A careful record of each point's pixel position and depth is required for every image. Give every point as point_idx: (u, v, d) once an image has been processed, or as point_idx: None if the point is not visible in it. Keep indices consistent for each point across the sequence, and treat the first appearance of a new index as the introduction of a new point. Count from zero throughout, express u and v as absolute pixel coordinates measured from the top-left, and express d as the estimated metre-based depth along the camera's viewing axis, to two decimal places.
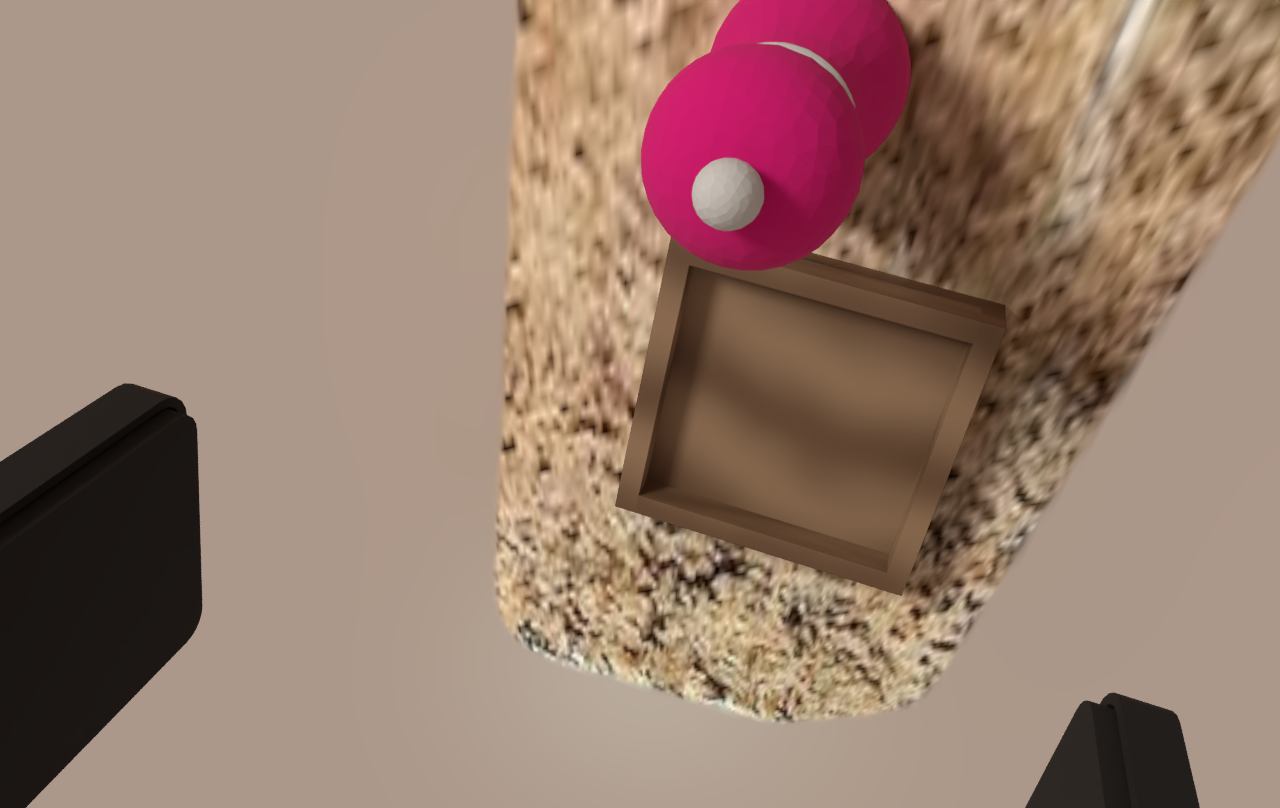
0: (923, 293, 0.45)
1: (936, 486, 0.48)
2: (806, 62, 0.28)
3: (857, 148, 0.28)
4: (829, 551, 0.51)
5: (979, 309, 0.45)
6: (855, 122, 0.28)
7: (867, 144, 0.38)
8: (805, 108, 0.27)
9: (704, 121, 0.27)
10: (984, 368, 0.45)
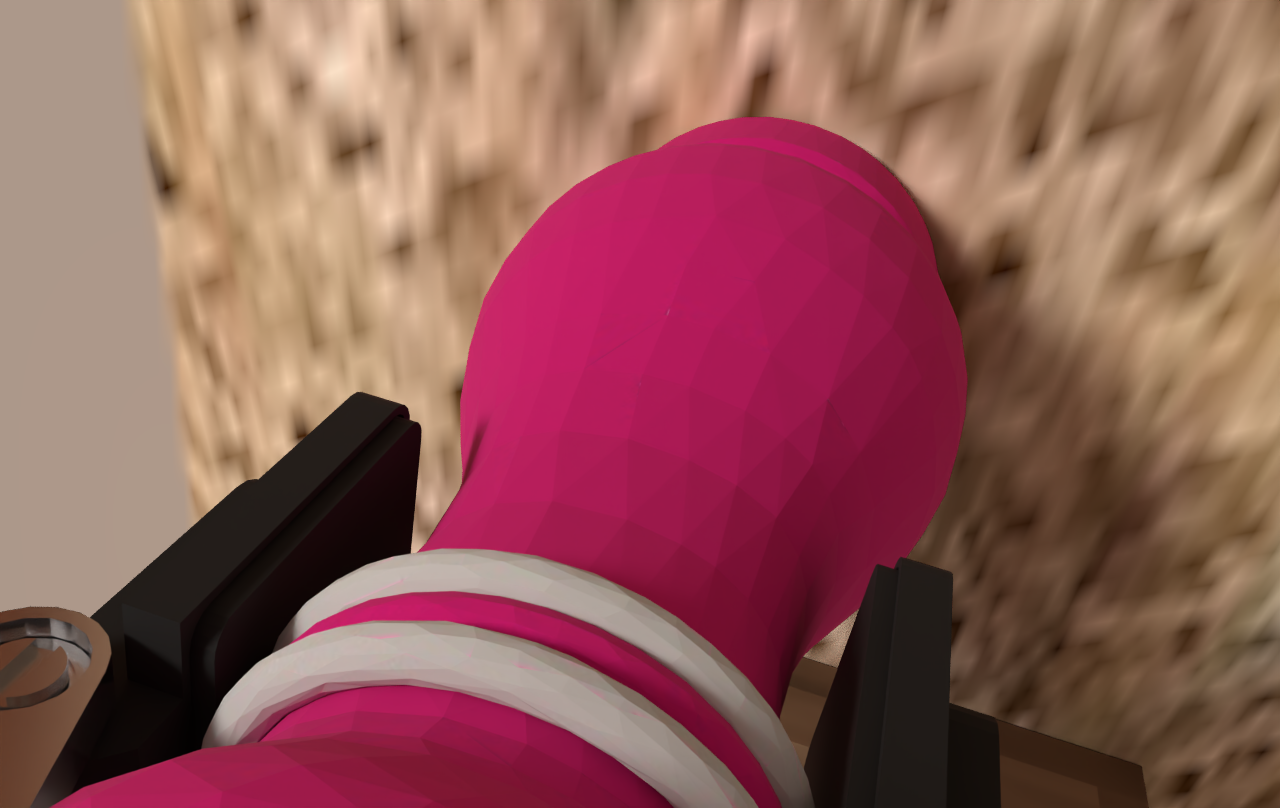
0: None
1: None
2: None
3: None
4: None
5: (1094, 793, 0.22)
6: None
7: (859, 606, 0.14)
8: None
9: None
10: None
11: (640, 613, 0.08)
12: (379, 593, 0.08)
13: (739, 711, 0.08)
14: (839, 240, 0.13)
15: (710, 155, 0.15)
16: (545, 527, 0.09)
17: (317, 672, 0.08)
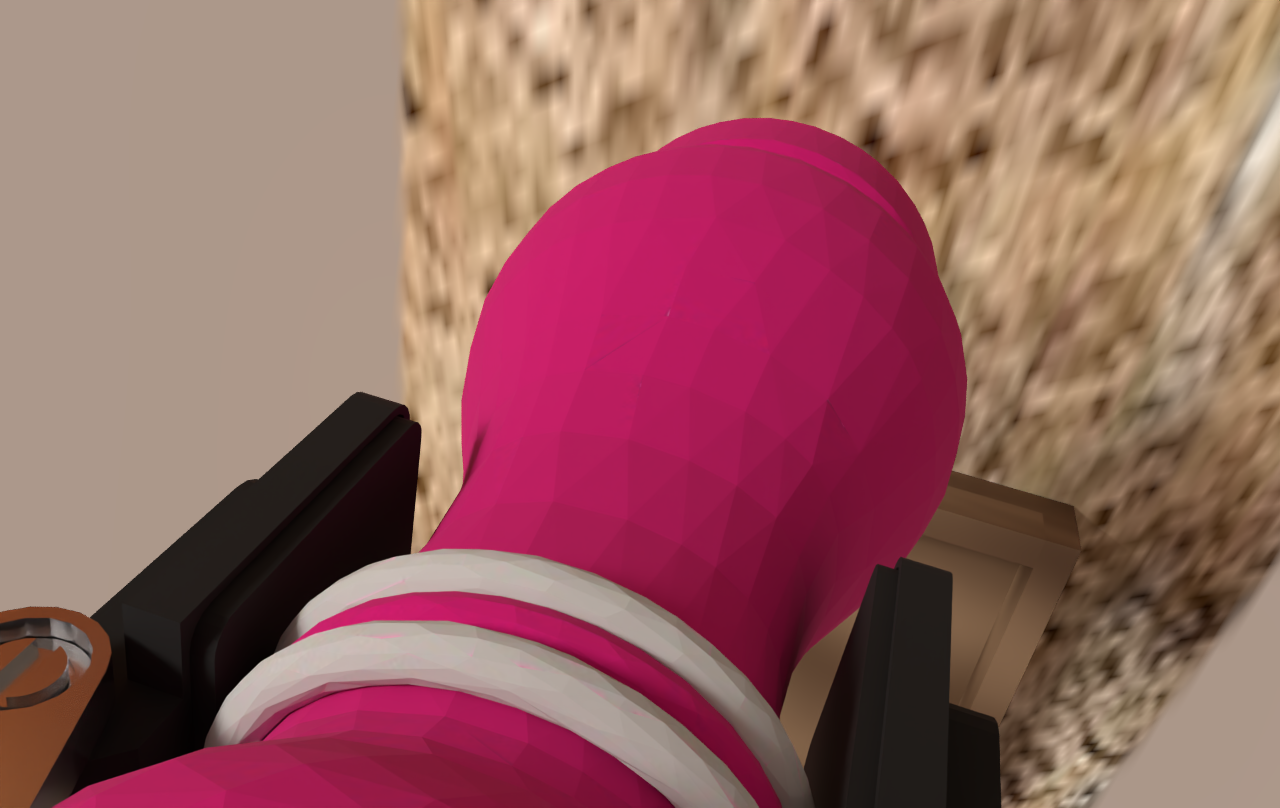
0: (963, 492, 0.33)
1: None
2: None
3: None
4: None
5: (1040, 516, 0.32)
6: None
7: (858, 606, 0.14)
8: None
9: None
10: (1049, 600, 0.32)
11: (641, 613, 0.08)
12: (381, 593, 0.08)
13: (739, 710, 0.08)
14: (840, 242, 0.13)
15: (710, 156, 0.15)
16: (546, 528, 0.10)
17: (320, 671, 0.08)
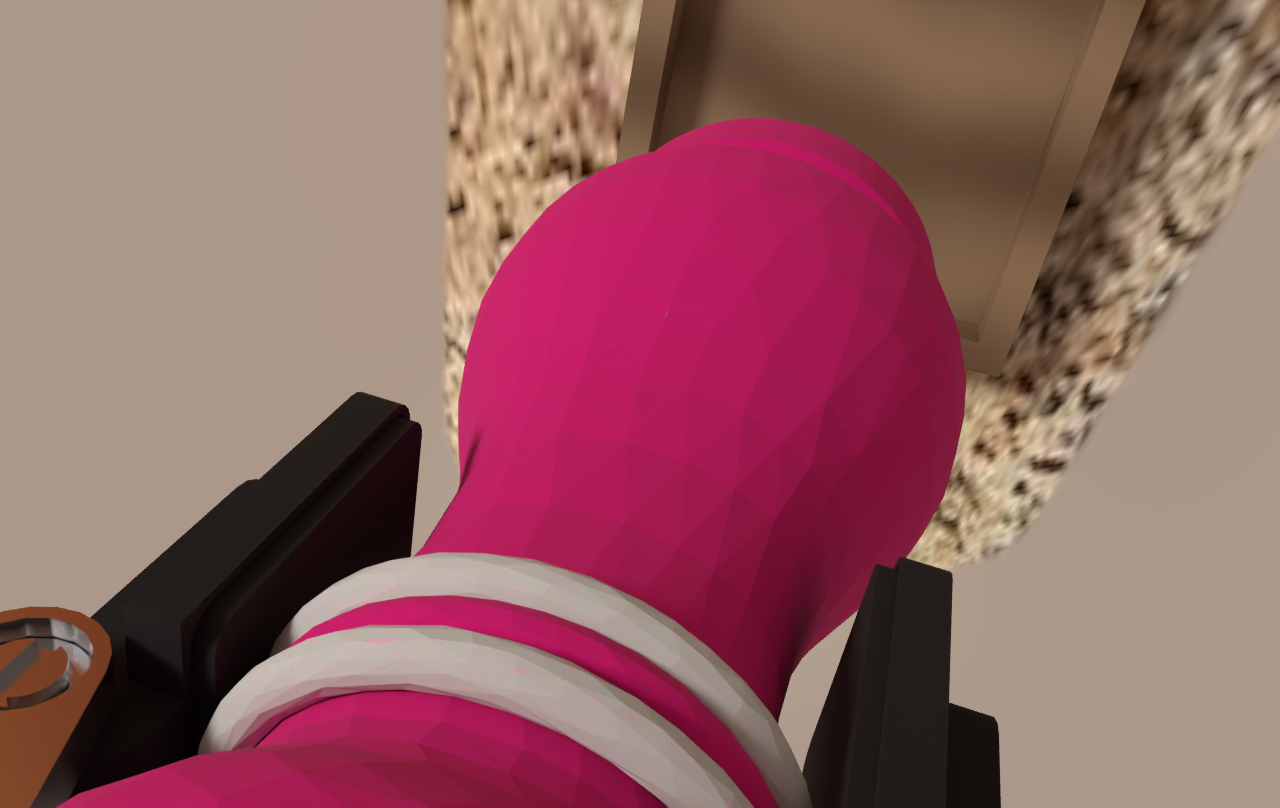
0: None
1: (1055, 200, 0.33)
2: None
3: None
4: None
5: None
6: None
7: (858, 609, 0.14)
8: None
9: None
10: None
11: (638, 617, 0.08)
12: (376, 597, 0.08)
13: (737, 715, 0.08)
14: (837, 243, 0.13)
15: (708, 156, 0.14)
16: (543, 531, 0.09)
17: (314, 677, 0.08)
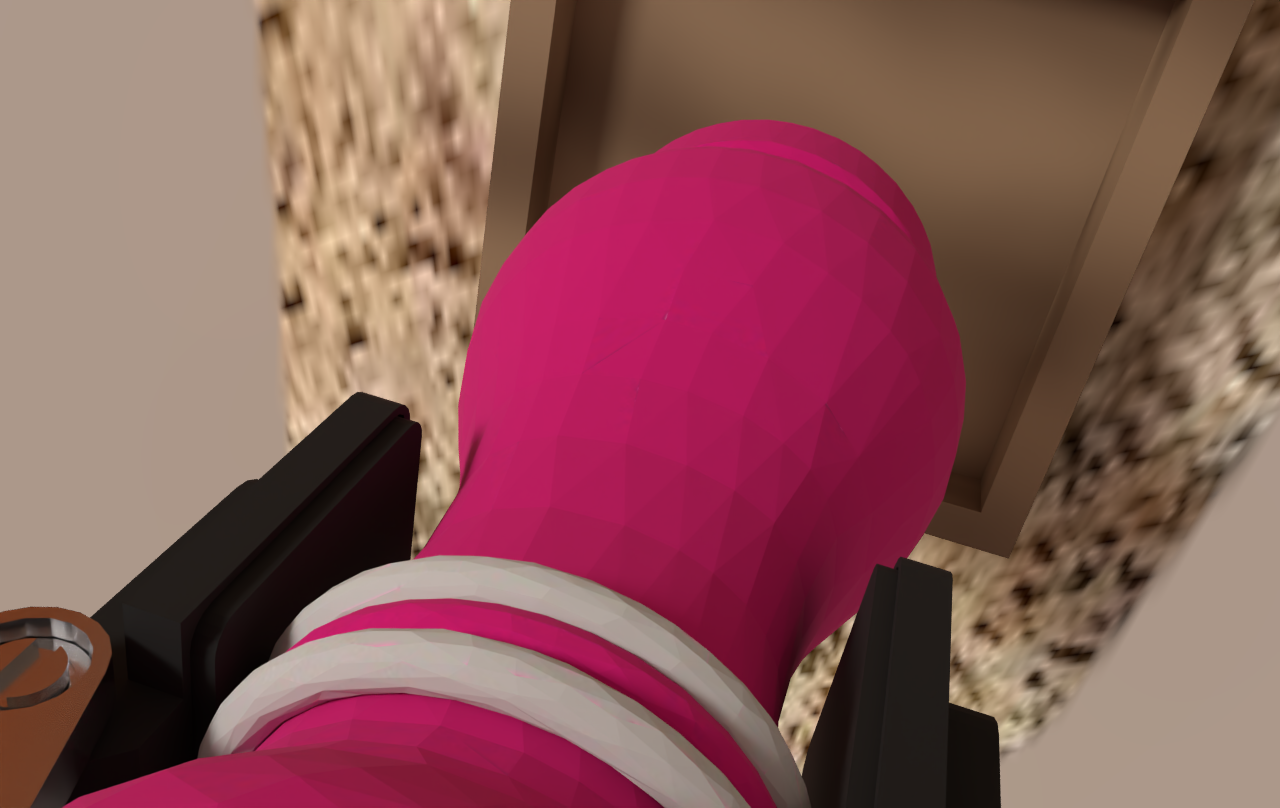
0: None
1: (1092, 328, 0.23)
2: None
3: None
4: None
5: None
6: None
7: None
8: None
9: None
10: (1221, 44, 0.20)
11: (638, 620, 0.08)
12: (376, 600, 0.08)
13: (737, 718, 0.08)
14: (837, 244, 0.13)
15: (707, 158, 0.14)
16: (544, 533, 0.09)
17: (314, 680, 0.08)
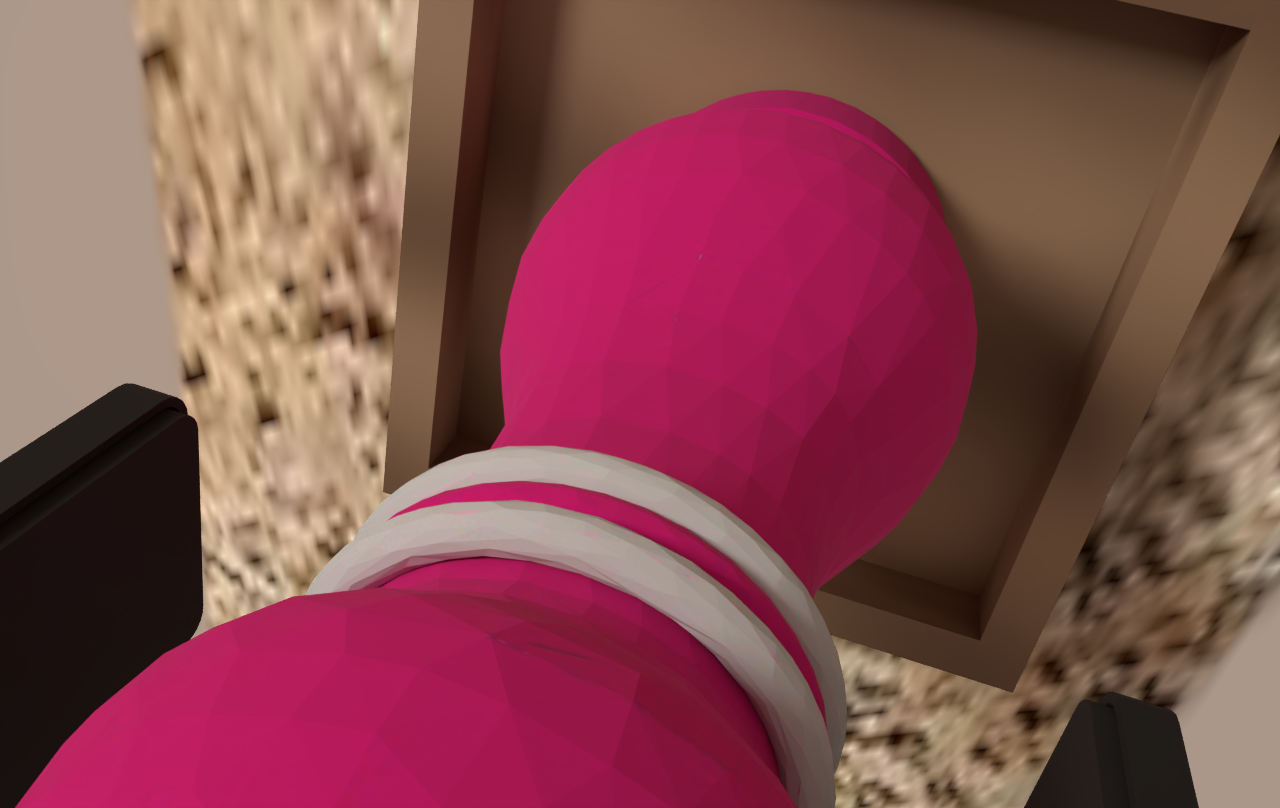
0: None
1: (1113, 436, 0.19)
2: (582, 798, 0.06)
3: None
4: (848, 592, 0.23)
5: None
6: None
7: (876, 540, 0.15)
8: None
9: None
10: (1277, 103, 0.16)
11: (688, 498, 0.09)
12: (453, 485, 0.09)
13: (777, 586, 0.09)
14: (858, 194, 0.14)
15: (735, 117, 0.15)
16: (596, 437, 0.10)
17: (403, 547, 0.09)
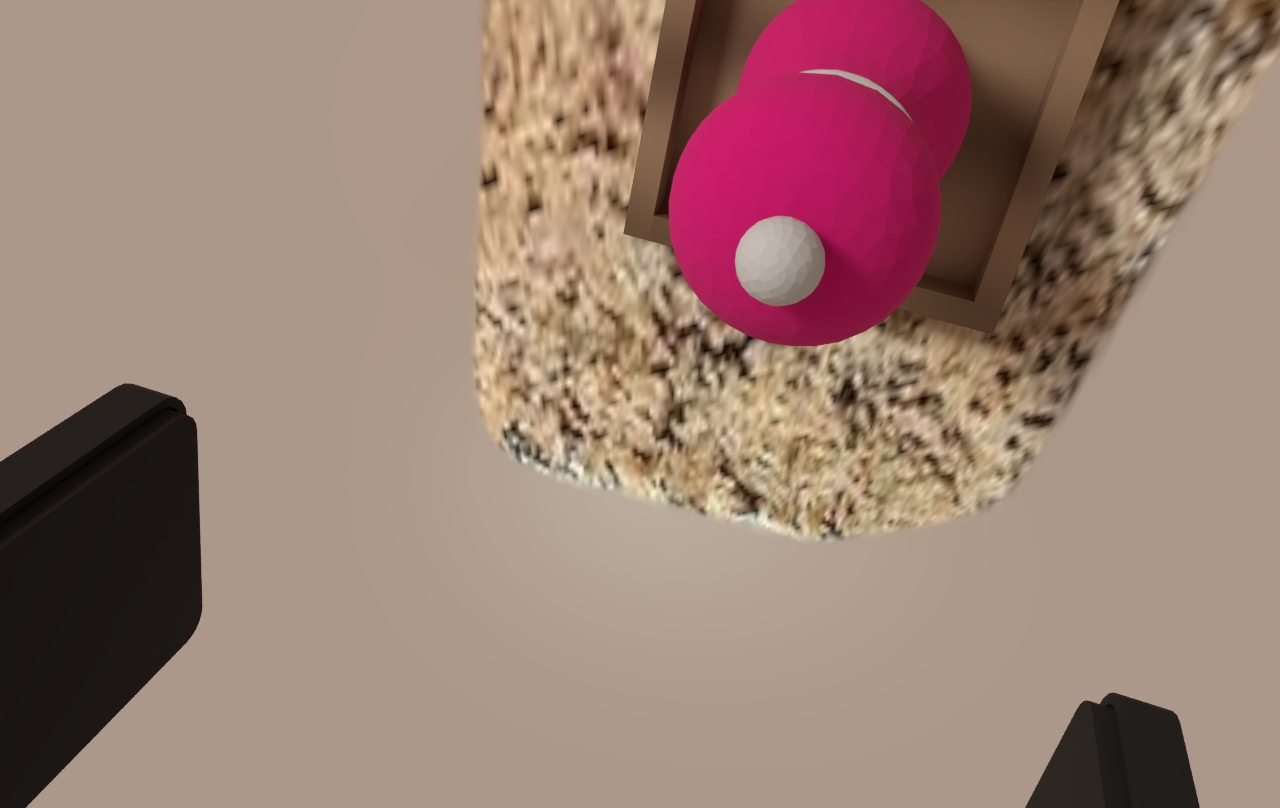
0: None
1: (1044, 168, 0.36)
2: (872, 96, 0.23)
3: (935, 201, 0.23)
4: None
5: None
6: (932, 169, 0.23)
7: None
8: (874, 153, 0.22)
9: (749, 170, 0.22)
10: None
11: (871, 83, 0.26)
12: None
13: None
14: (916, 15, 0.31)
15: None
16: None
17: None
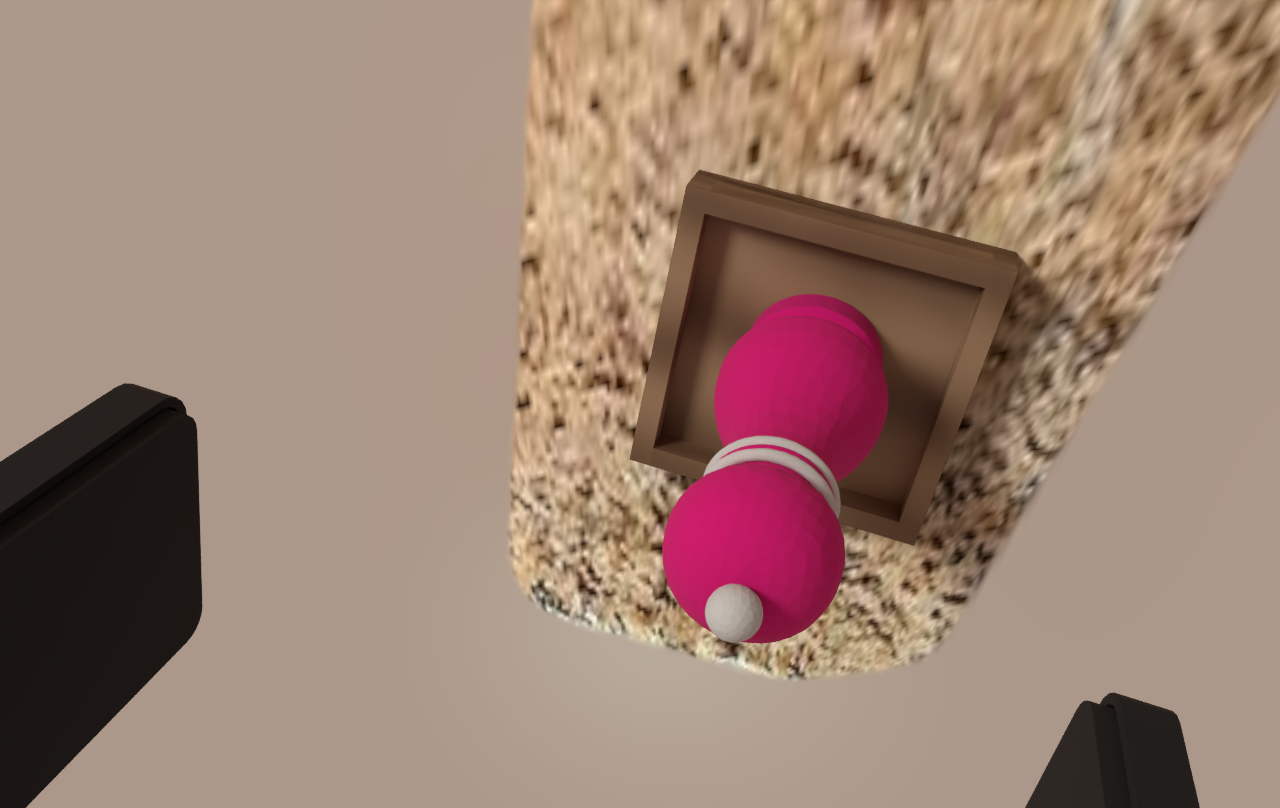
0: (936, 240, 0.46)
1: (948, 433, 0.48)
2: (796, 492, 0.35)
3: (838, 559, 0.35)
4: (842, 502, 0.51)
5: (991, 255, 0.45)
6: (836, 538, 0.35)
7: (851, 469, 0.44)
8: (795, 541, 0.34)
9: (714, 549, 0.34)
10: (996, 313, 0.45)
11: (802, 448, 0.38)
12: (743, 445, 0.38)
13: (823, 469, 0.38)
14: (844, 352, 0.43)
15: (802, 322, 0.44)
16: (773, 433, 0.39)
17: (737, 459, 0.38)
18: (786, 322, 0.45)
